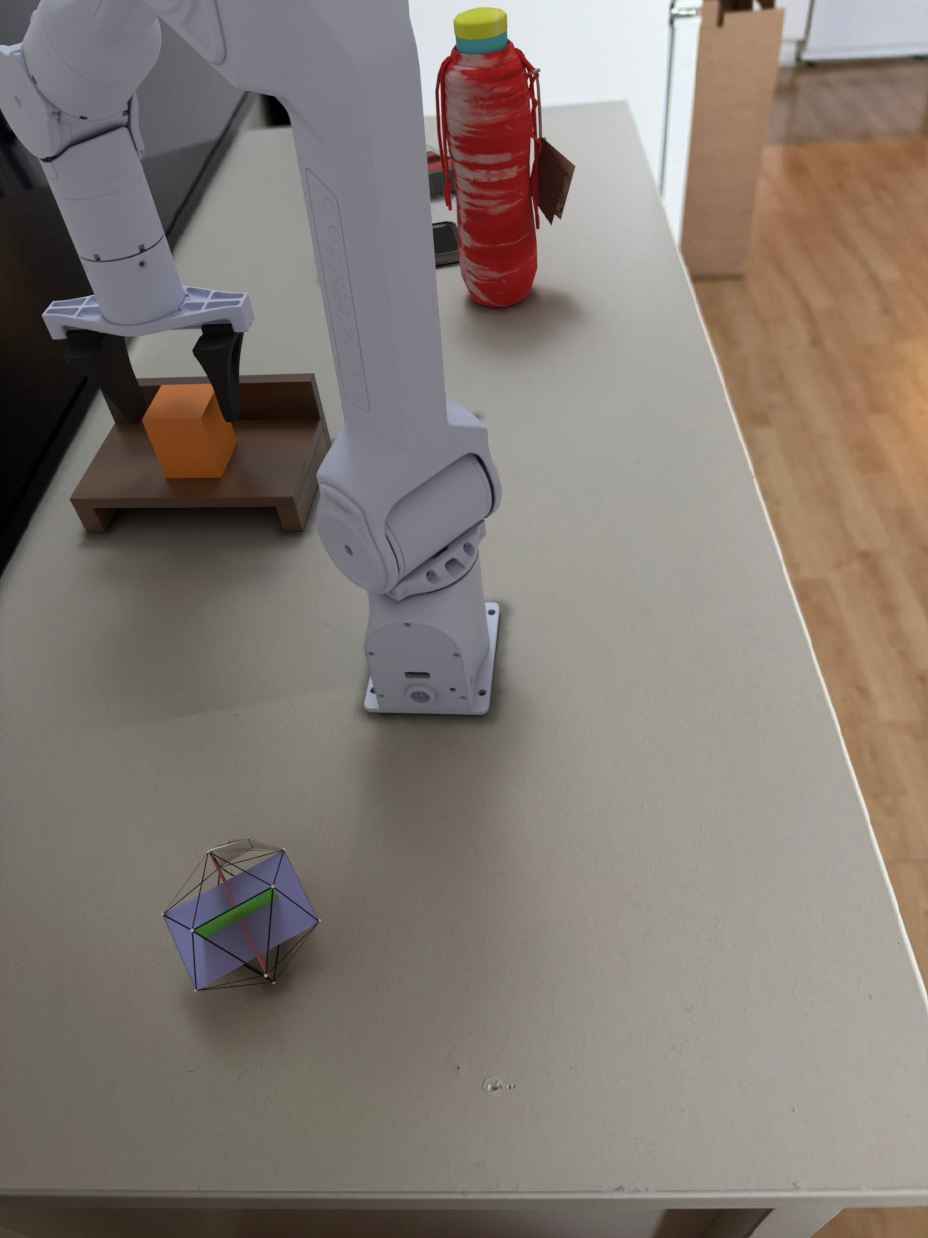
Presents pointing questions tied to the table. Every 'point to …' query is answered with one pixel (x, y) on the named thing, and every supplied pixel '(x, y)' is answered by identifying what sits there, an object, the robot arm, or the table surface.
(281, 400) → the shelf
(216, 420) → the orange cube-like block
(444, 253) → the phone
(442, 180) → the walkie-talkie
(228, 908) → the geometric puzzle
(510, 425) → the table surface
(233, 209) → the table surface
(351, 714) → the table surface
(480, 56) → the water bottle
